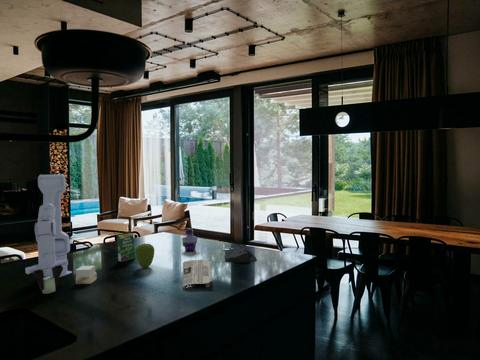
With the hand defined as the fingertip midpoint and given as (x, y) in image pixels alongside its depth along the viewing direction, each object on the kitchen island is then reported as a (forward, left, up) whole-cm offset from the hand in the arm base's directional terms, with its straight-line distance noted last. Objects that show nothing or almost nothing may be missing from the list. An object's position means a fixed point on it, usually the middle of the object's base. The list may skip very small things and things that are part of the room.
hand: (48, 287), depth 138 cm
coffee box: (0, +45, -2) cm, 45 cm away
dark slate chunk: (+51, +67, -2) cm, 84 cm away
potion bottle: (+21, +71, -2) cm, 74 cm away
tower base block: (+5, +14, -2) cm, 15 cm away
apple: (+17, +37, -2) cm, 41 cm away
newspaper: (+45, +34, -2) cm, 57 cm away
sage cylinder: (0, 0, -1) cm, 1 cm away
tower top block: (+5, +14, +1) cm, 15 cm away
